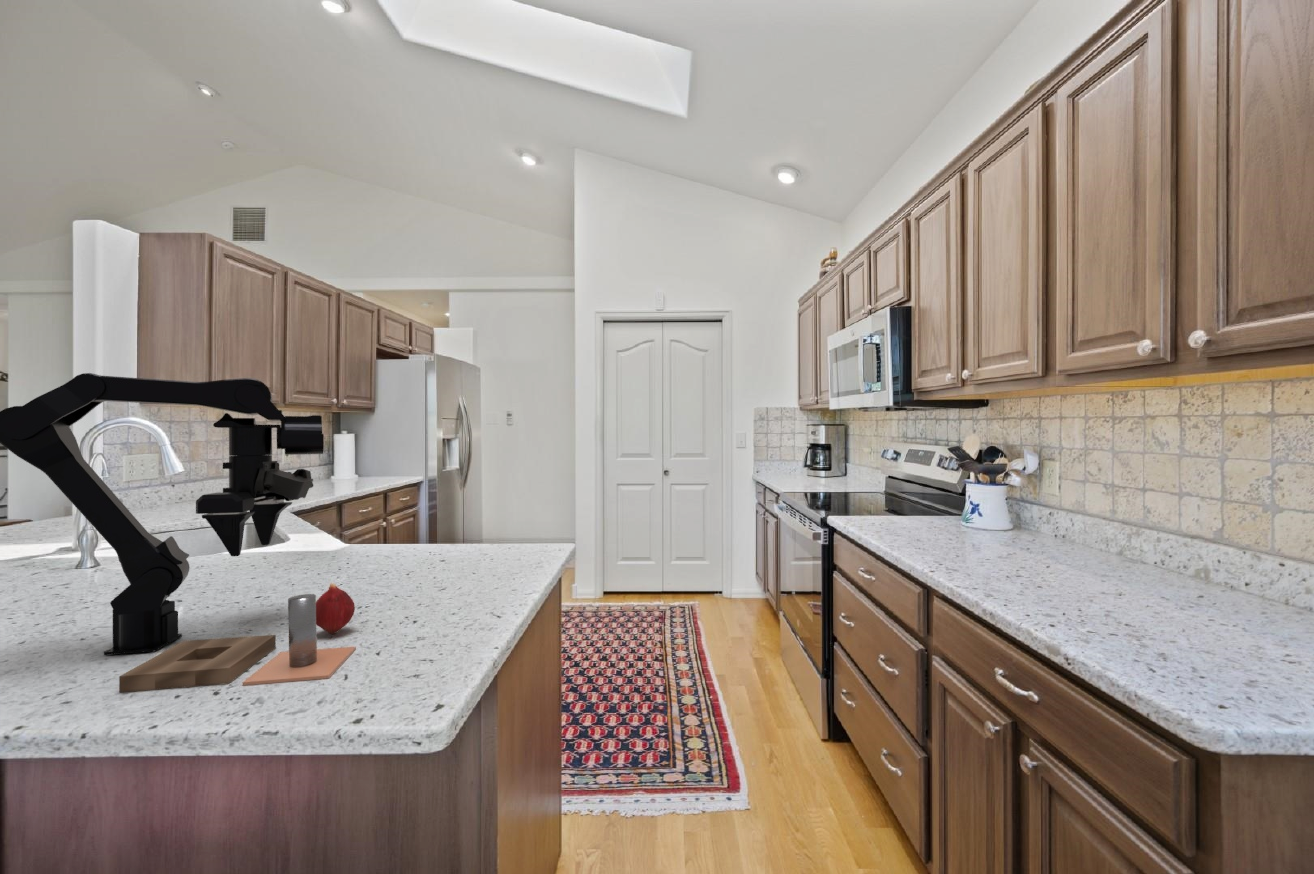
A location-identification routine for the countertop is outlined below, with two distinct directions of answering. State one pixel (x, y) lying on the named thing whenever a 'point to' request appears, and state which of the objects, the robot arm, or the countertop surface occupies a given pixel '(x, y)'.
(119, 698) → the countertop surface
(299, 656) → the peg
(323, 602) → the onion
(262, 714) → the countertop surface
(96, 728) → the countertop surface
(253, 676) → the tile
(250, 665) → the plate
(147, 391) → the robot arm
